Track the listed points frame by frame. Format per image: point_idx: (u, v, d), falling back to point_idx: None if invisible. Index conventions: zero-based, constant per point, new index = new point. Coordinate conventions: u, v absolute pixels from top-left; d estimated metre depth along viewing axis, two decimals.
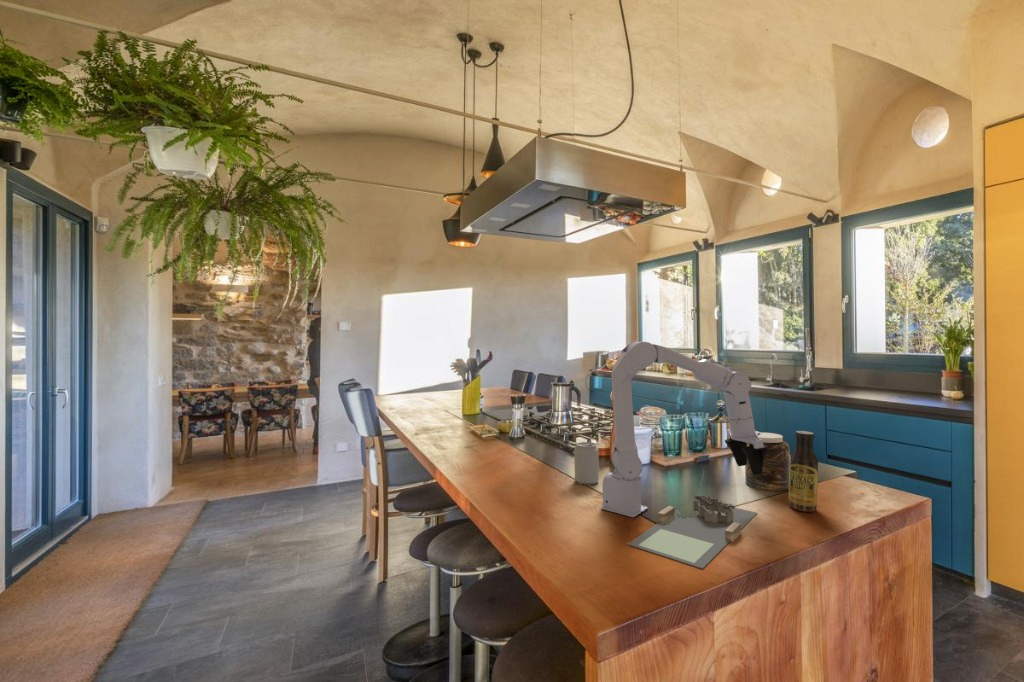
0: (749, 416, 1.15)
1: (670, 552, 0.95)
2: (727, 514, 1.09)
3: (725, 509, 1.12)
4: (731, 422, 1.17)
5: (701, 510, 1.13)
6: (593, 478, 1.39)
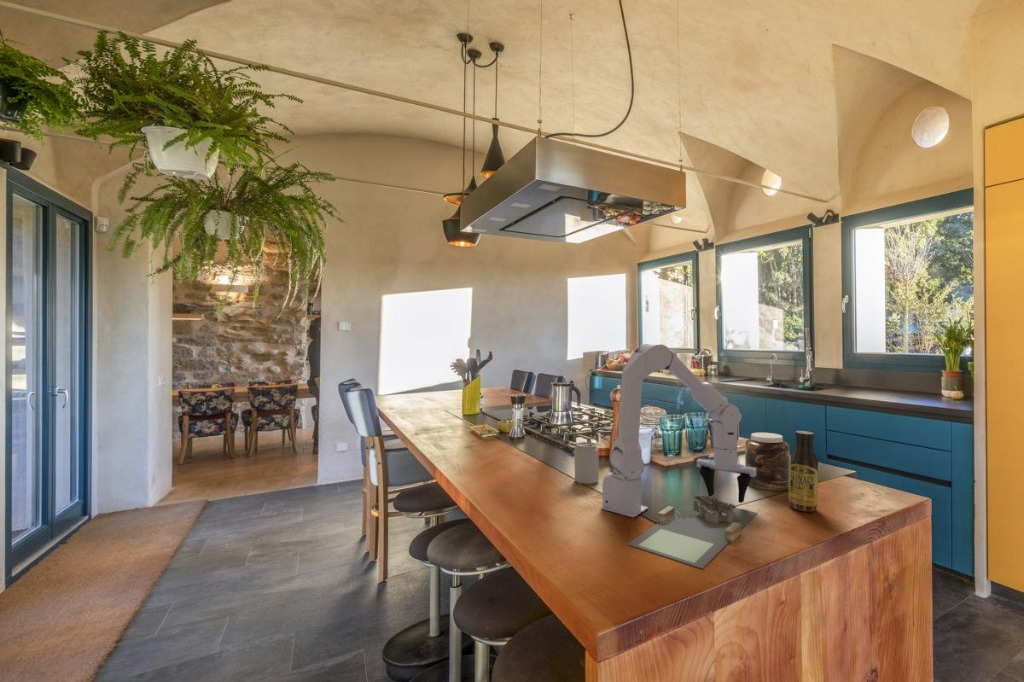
0: (735, 447, 1.19)
1: (670, 552, 0.95)
2: (728, 514, 1.09)
3: (725, 509, 1.12)
4: (724, 452, 1.19)
5: (701, 510, 1.13)
6: (593, 478, 1.39)
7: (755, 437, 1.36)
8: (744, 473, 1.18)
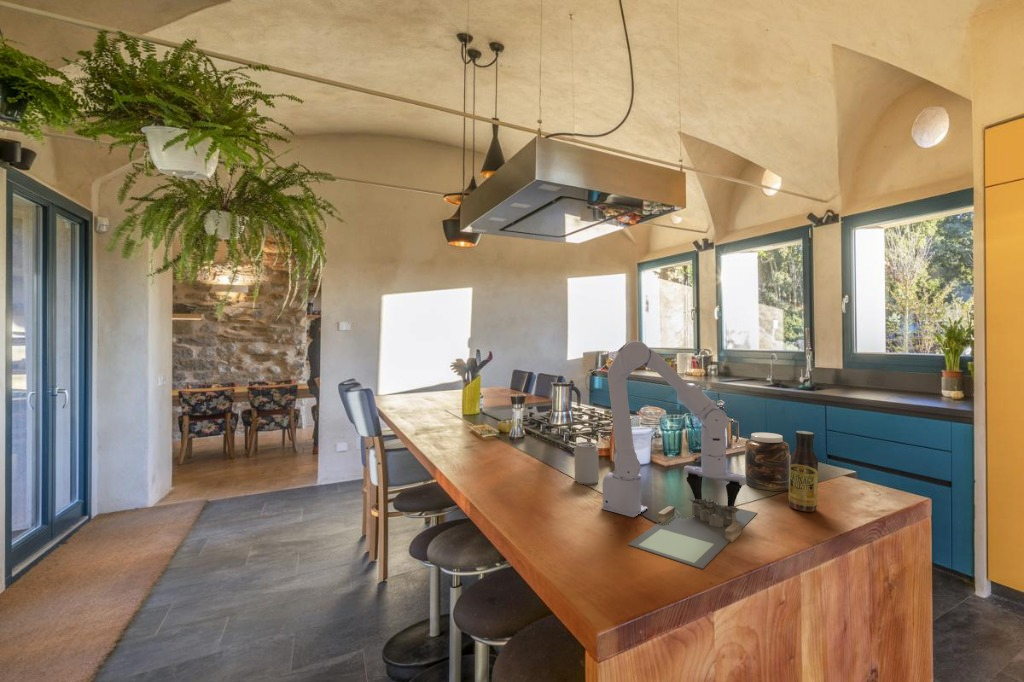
0: (721, 454, 1.12)
1: (670, 552, 0.95)
2: (732, 517, 1.07)
3: (727, 512, 1.10)
4: (712, 459, 1.13)
5: (704, 514, 1.10)
6: (593, 478, 1.39)
7: (755, 437, 1.36)
8: (733, 481, 1.12)
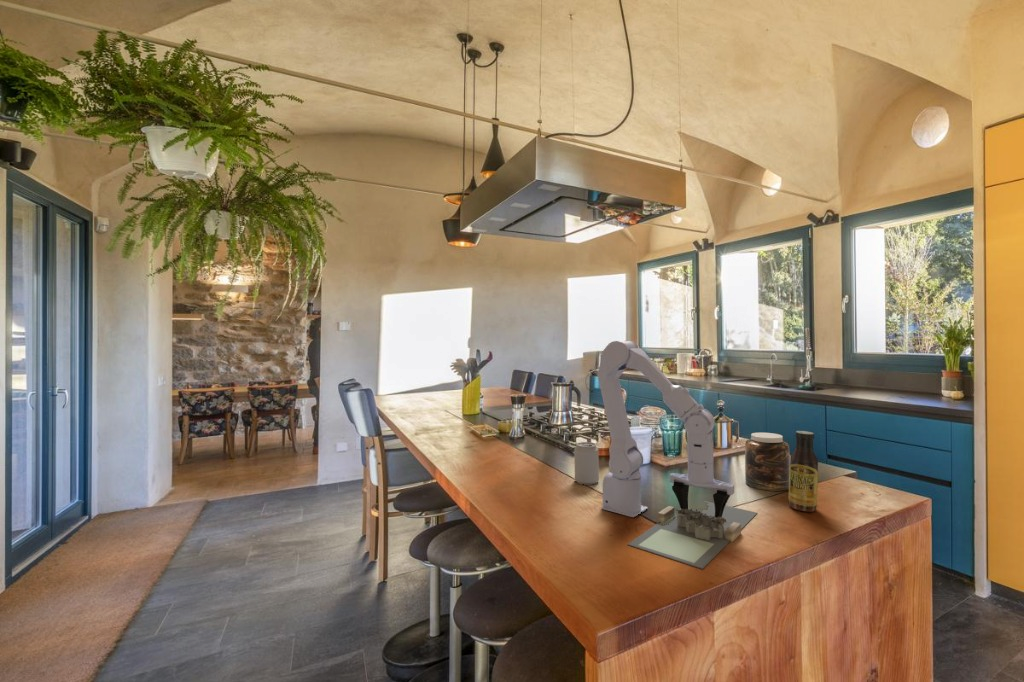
0: (703, 462, 1.06)
1: (670, 552, 0.95)
2: (719, 529, 1.01)
3: (714, 523, 1.04)
4: (698, 467, 1.06)
5: (689, 526, 1.04)
6: (593, 478, 1.39)
7: (755, 437, 1.36)
8: (721, 490, 1.05)
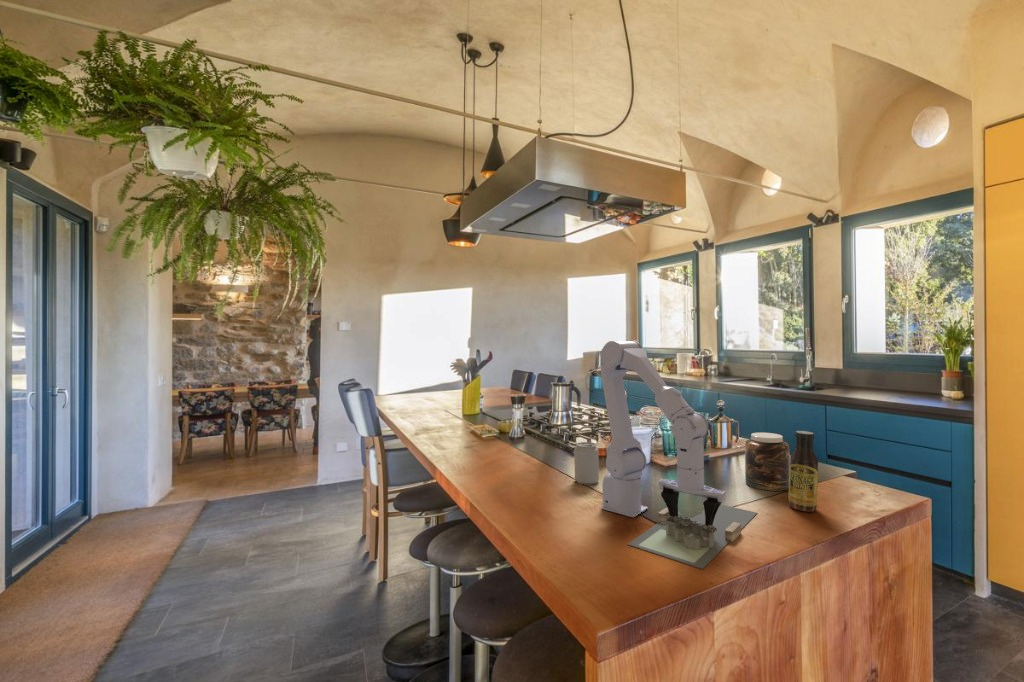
0: (688, 467, 1.02)
1: (670, 552, 0.95)
2: (709, 538, 0.96)
3: (704, 531, 0.99)
4: (688, 472, 1.02)
5: (678, 535, 0.99)
6: (593, 478, 1.39)
7: (755, 437, 1.36)
8: (712, 497, 1.00)
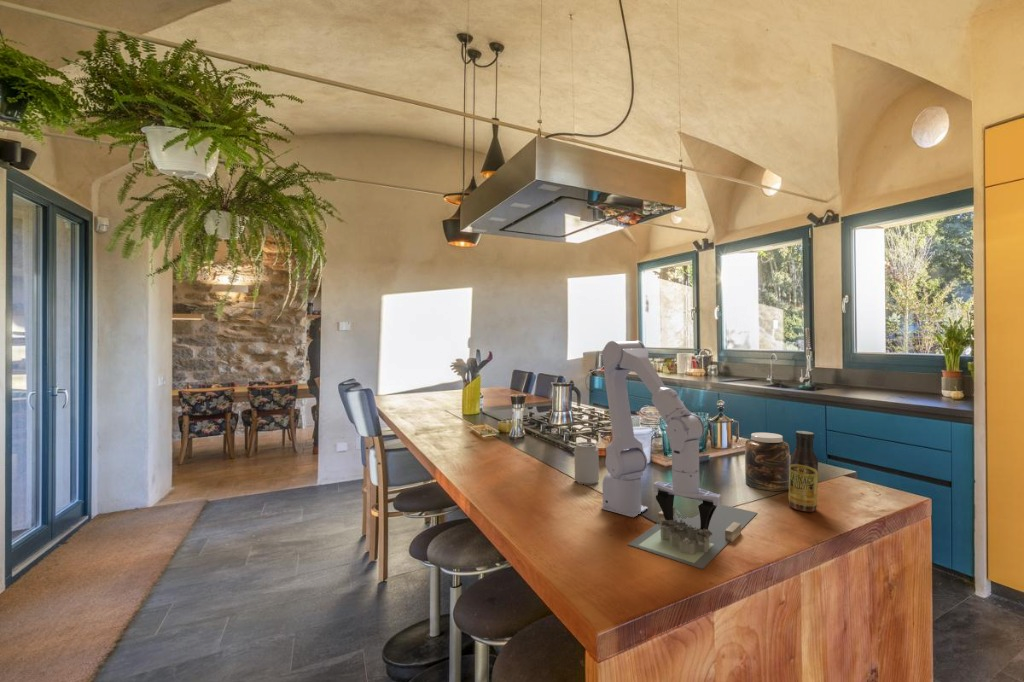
0: (682, 470, 1.00)
1: (670, 552, 0.95)
2: (704, 542, 0.94)
3: (699, 535, 0.97)
4: (683, 475, 1.00)
5: (673, 539, 0.97)
6: (593, 478, 1.39)
7: (755, 437, 1.36)
8: (707, 501, 0.99)
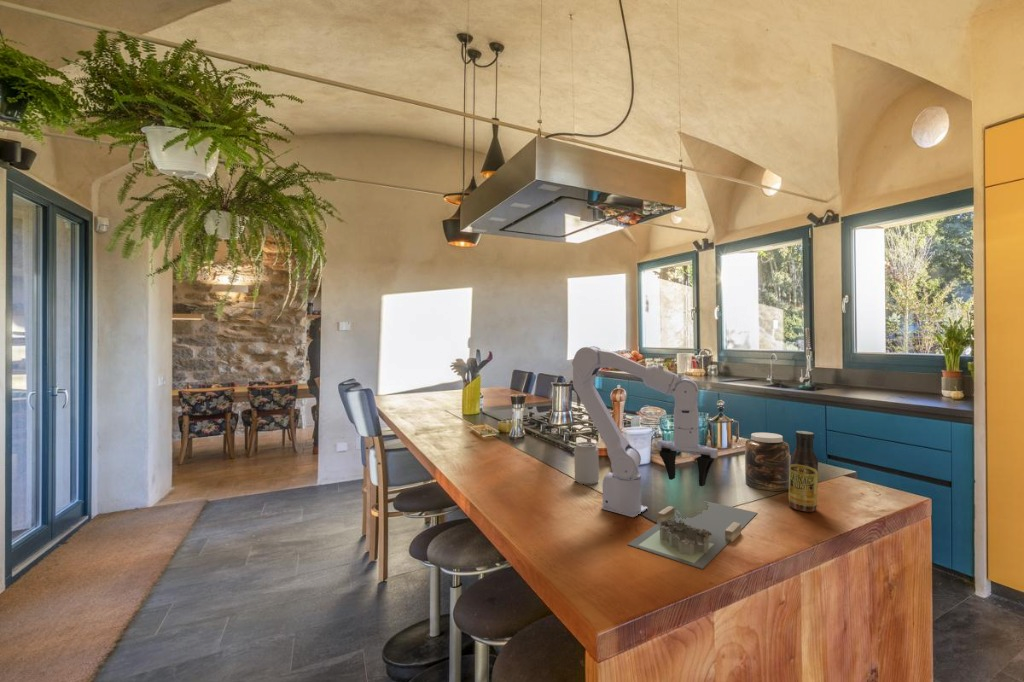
0: (691, 427, 1.10)
1: (670, 552, 0.95)
2: (704, 543, 0.94)
3: (698, 536, 0.97)
4: (683, 432, 1.11)
5: (672, 539, 0.97)
6: (593, 478, 1.39)
7: (755, 437, 1.36)
8: (705, 454, 1.09)
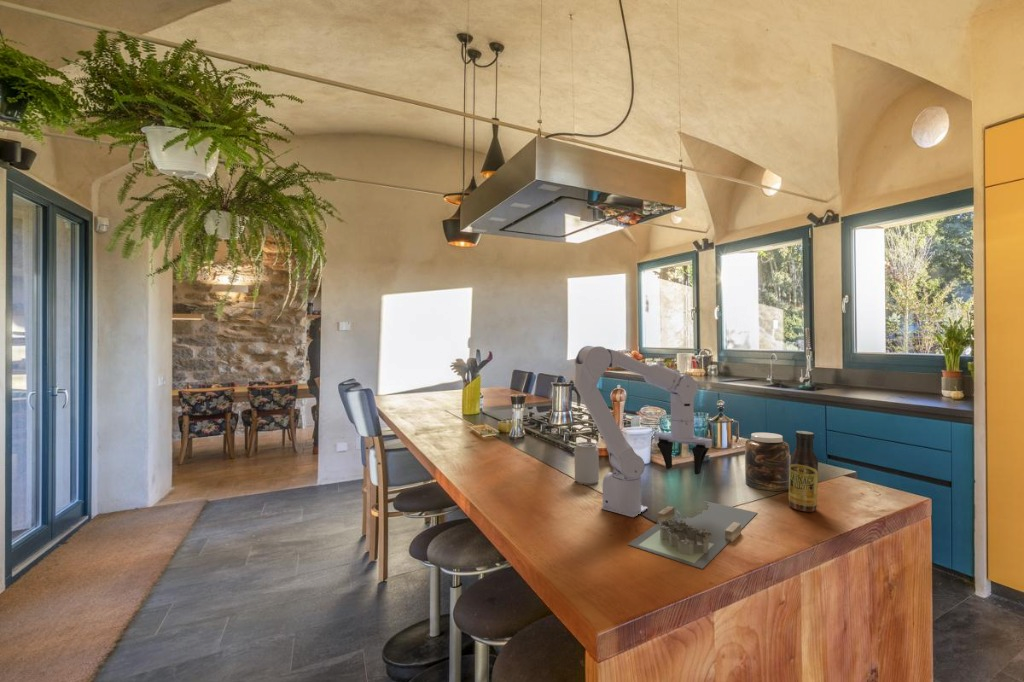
0: (691, 419, 1.18)
1: (670, 552, 0.95)
2: (703, 543, 0.94)
3: (698, 536, 0.97)
4: (680, 423, 1.18)
5: (672, 539, 0.97)
6: (593, 478, 1.39)
7: (755, 437, 1.36)
8: (700, 444, 1.17)
